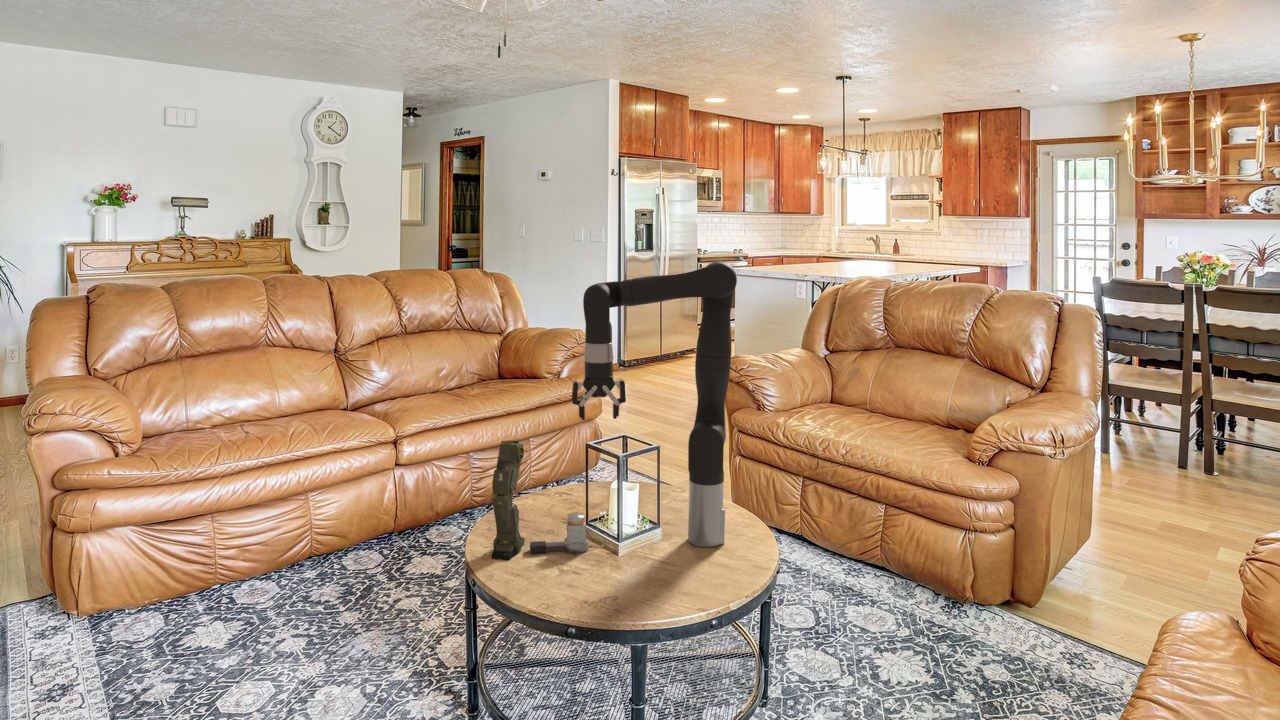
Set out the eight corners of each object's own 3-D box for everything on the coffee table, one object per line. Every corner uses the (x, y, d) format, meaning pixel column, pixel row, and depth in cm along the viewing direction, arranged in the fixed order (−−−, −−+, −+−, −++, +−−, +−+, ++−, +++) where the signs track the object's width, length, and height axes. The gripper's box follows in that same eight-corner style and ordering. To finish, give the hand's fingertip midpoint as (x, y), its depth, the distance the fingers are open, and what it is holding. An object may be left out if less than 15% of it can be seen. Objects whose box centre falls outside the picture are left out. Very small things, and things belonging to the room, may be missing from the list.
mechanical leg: (508, 563, 188) (516, 442, 190) (480, 560, 189) (489, 440, 191) (526, 553, 201) (534, 441, 203) (501, 551, 203) (508, 439, 205)
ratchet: (587, 543, 202) (587, 522, 201) (589, 553, 196) (589, 531, 195) (529, 547, 200) (529, 525, 199) (530, 557, 194) (530, 535, 193)
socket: (584, 536, 201) (584, 511, 200) (586, 543, 197) (586, 518, 195) (566, 537, 200) (566, 512, 199) (568, 544, 196) (567, 519, 195)
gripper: (623, 356, 204) (623, 414, 207) (570, 357, 202) (571, 416, 205) (627, 361, 197) (627, 421, 200) (573, 362, 195) (573, 423, 197)
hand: (598, 418), depth 202 cm, fingers open, 8 cm apart
